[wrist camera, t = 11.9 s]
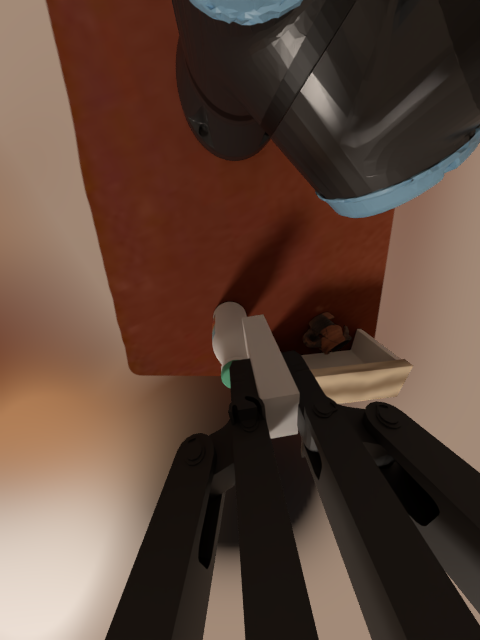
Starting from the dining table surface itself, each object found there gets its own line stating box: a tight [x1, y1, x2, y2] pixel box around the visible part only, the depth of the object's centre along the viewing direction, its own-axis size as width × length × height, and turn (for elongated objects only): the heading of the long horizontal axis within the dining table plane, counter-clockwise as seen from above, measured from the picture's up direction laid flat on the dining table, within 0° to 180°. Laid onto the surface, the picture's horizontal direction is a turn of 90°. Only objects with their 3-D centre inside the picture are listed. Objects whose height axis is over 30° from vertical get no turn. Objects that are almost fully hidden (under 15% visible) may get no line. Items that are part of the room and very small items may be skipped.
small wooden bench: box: [301, 329, 413, 404], centre depth 44 cm, size 9×26×15 cm, turn 92°
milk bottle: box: [212, 302, 248, 388], centre depth 35 cm, size 8×8×20 cm
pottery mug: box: [303, 312, 352, 355], centre depth 47 cm, size 12×10×8 cm
